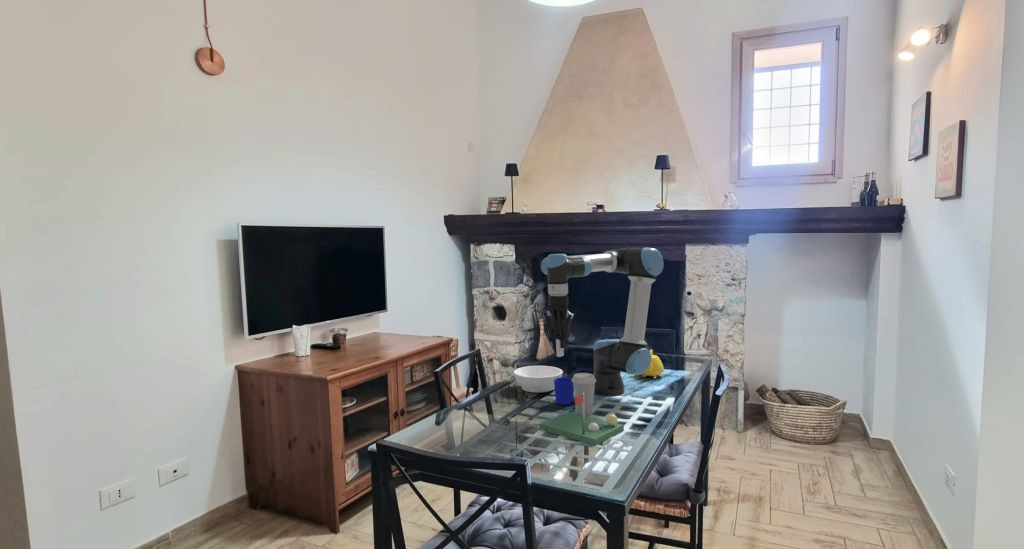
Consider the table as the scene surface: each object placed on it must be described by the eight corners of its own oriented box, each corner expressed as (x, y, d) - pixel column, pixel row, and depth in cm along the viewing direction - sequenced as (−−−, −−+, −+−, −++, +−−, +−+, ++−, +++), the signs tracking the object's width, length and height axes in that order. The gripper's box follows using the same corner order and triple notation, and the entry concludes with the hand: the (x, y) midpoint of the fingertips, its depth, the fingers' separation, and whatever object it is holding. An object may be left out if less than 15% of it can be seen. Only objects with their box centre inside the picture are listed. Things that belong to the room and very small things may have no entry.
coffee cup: (577, 418, 208) (577, 379, 207) (568, 410, 217) (567, 373, 216) (600, 415, 210) (600, 377, 209) (590, 408, 220) (590, 371, 219)
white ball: (587, 425, 194) (597, 420, 193) (593, 436, 192) (602, 430, 191) (584, 426, 190) (594, 420, 189) (590, 436, 189) (599, 431, 188)
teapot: (634, 370, 281) (634, 348, 280) (664, 372, 276) (664, 349, 275) (630, 380, 262) (630, 356, 261) (662, 382, 257) (662, 358, 256)
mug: (582, 407, 221) (582, 383, 220) (553, 406, 223) (552, 382, 223) (584, 401, 229) (583, 378, 228) (555, 400, 231) (555, 377, 231)
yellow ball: (610, 422, 196) (610, 411, 196) (619, 425, 193) (619, 414, 193) (604, 425, 193) (603, 414, 193) (613, 428, 191) (613, 416, 190)
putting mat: (569, 416, 210) (569, 411, 210) (623, 430, 194) (623, 425, 194) (539, 429, 197) (539, 423, 197) (595, 445, 180) (595, 439, 180)
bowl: (563, 383, 259) (562, 365, 259) (562, 396, 237) (562, 377, 236) (516, 382, 261) (515, 365, 261) (511, 396, 239) (511, 377, 238)
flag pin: (583, 432, 186) (582, 392, 185) (585, 433, 186) (584, 393, 185) (574, 437, 183) (574, 396, 182) (576, 437, 182) (576, 396, 181)
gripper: (538, 295, 208) (540, 356, 209) (566, 296, 199) (568, 360, 201) (550, 292, 213) (552, 352, 215) (578, 294, 205) (580, 356, 207)
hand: (560, 356), depth 208 cm, fingers closed
